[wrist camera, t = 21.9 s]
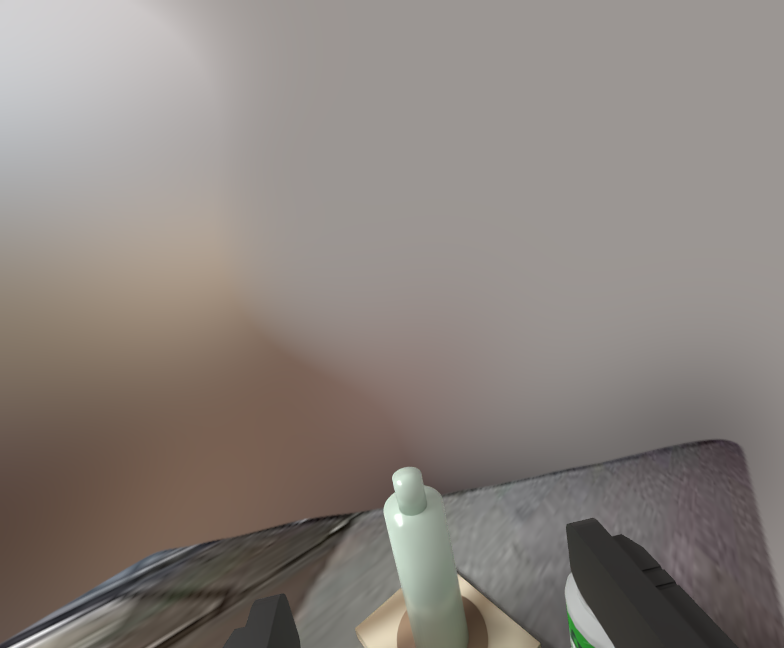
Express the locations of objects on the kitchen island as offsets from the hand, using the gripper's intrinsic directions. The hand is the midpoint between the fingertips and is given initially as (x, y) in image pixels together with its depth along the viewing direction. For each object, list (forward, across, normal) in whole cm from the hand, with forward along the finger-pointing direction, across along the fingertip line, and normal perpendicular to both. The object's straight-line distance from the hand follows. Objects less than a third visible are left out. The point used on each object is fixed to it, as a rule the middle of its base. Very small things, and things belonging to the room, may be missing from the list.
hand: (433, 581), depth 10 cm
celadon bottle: (+20, 0, -29) cm, 35 cm away
